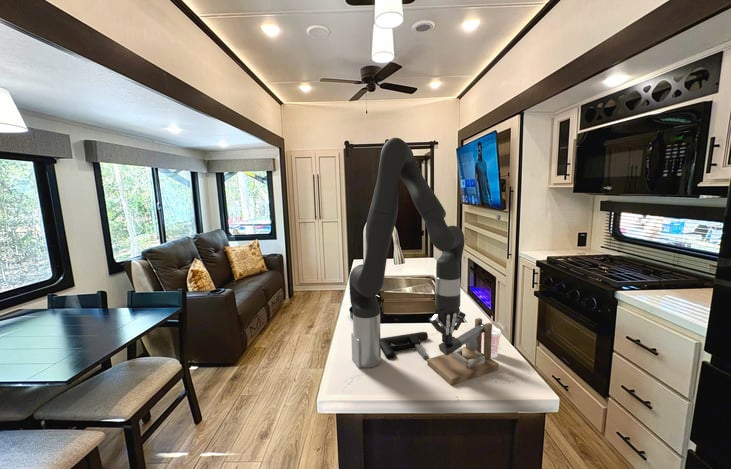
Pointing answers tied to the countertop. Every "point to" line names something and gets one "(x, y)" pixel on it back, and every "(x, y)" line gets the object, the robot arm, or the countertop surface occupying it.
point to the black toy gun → (410, 338)
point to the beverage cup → (494, 340)
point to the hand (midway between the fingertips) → (447, 343)
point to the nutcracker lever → (463, 340)
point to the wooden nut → (468, 353)
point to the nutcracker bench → (462, 369)
